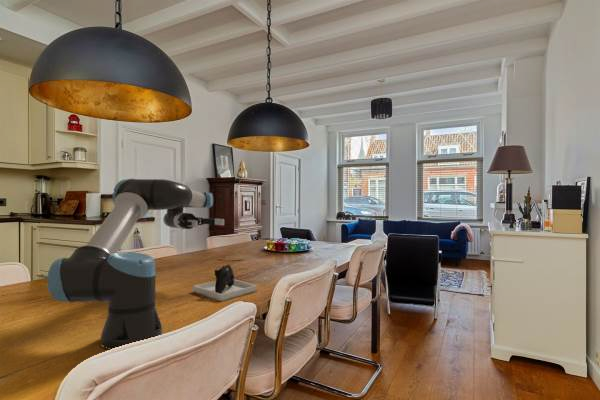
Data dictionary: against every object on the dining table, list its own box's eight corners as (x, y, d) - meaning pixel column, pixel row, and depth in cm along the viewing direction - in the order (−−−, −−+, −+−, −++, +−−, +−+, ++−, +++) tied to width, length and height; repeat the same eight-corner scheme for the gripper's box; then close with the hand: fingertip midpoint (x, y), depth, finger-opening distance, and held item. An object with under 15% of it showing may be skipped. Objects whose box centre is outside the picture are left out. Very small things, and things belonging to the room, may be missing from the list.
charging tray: (220, 301, 126) (220, 294, 126) (193, 291, 138) (193, 285, 138) (257, 291, 139) (257, 285, 139) (229, 283, 152) (229, 278, 152)
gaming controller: (225, 295, 131) (225, 270, 131) (211, 294, 132) (211, 269, 132) (238, 286, 145) (238, 263, 145) (225, 285, 146) (225, 262, 146)
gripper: (207, 227, 169) (233, 229, 155) (159, 230, 150) (184, 233, 136) (207, 212, 169) (233, 213, 155) (159, 213, 150) (184, 215, 136)
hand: (210, 223), depth 146 cm, fingers open, 13 cm apart
